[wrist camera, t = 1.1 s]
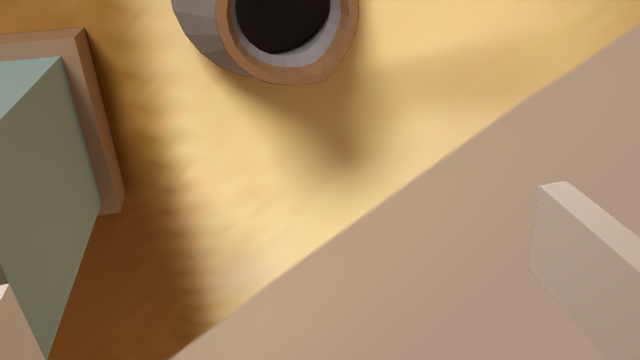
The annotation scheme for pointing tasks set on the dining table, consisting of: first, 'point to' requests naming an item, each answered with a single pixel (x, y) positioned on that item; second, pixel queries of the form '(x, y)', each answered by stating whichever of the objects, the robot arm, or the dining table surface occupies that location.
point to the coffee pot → (271, 36)
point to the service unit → (51, 169)
